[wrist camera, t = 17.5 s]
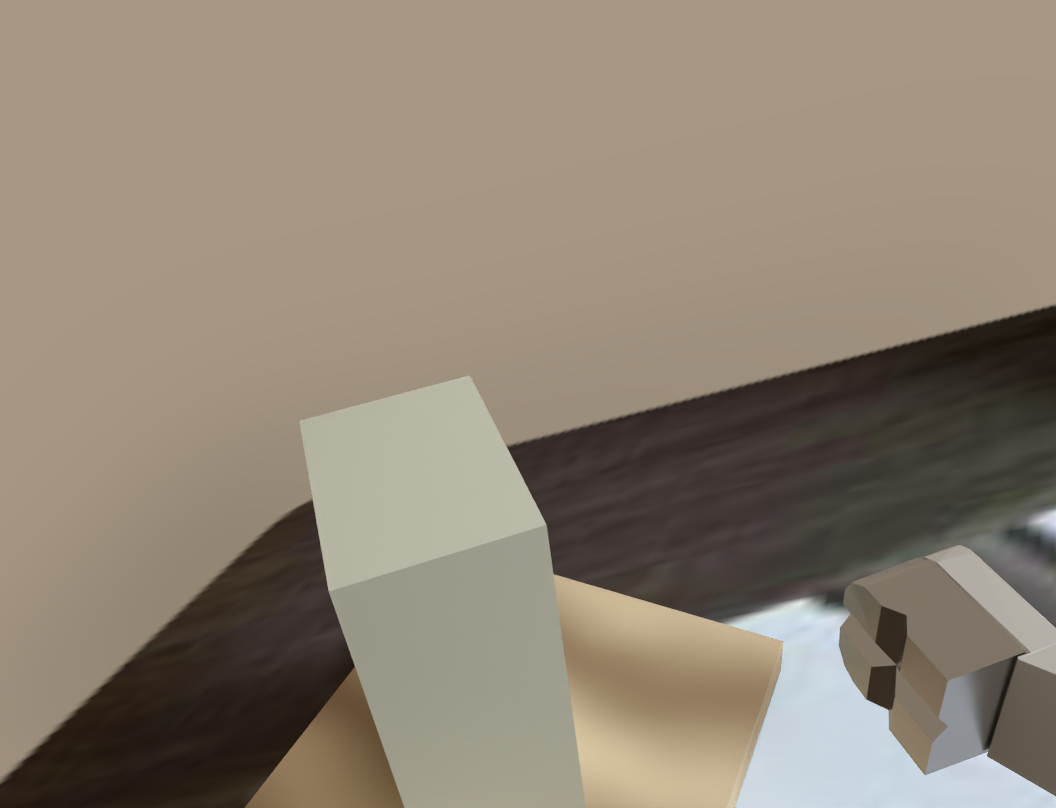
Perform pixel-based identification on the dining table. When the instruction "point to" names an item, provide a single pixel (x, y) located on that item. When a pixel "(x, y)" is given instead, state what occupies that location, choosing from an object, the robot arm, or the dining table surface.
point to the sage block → (446, 599)
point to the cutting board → (587, 713)
